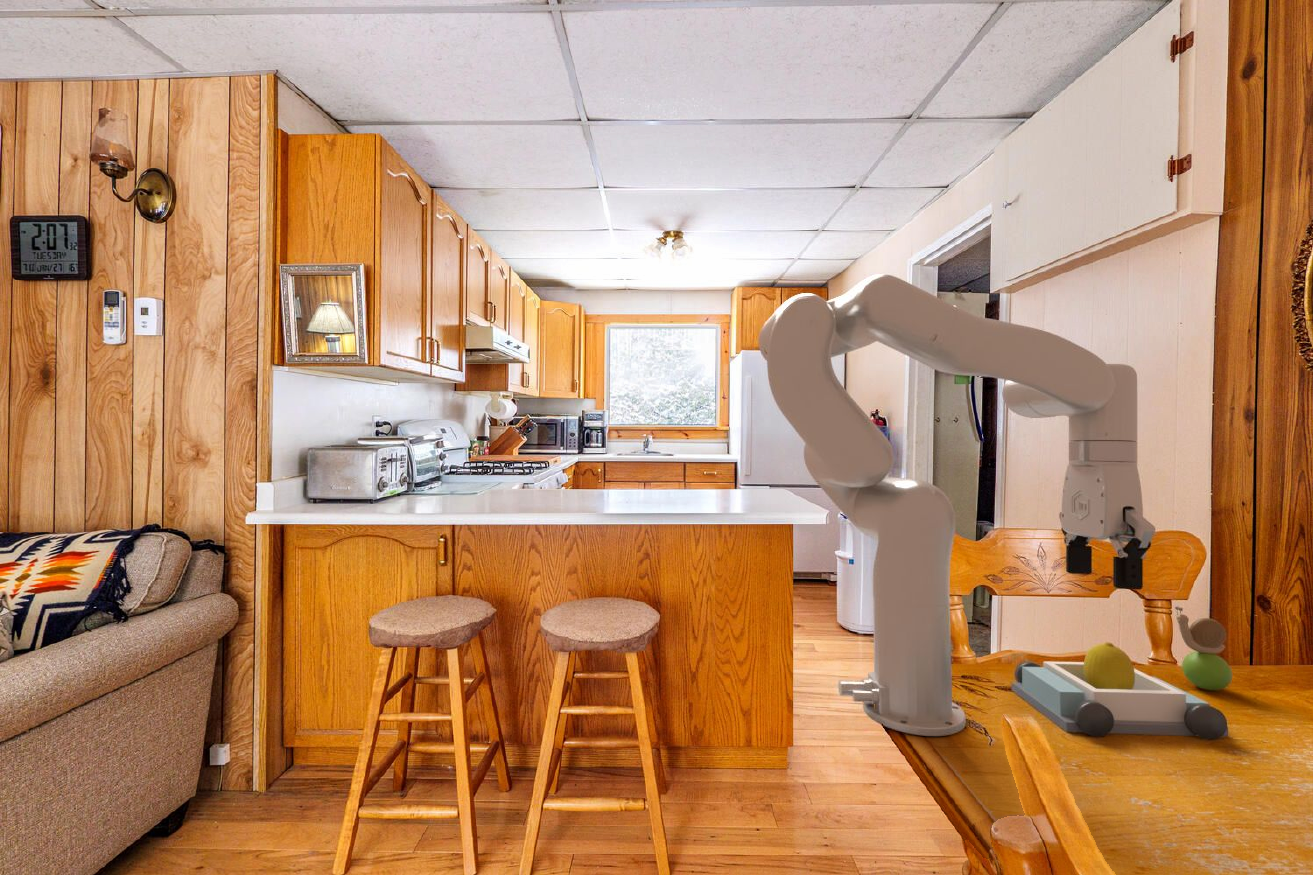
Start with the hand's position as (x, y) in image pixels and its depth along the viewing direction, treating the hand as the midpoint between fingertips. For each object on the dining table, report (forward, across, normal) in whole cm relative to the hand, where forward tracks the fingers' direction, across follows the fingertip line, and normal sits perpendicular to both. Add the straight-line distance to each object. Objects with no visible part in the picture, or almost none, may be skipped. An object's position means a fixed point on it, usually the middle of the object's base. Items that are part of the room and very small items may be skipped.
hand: (1101, 580), depth 80 cm
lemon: (+17, 0, +1) cm, 17 cm away
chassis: (+18, 0, +1) cm, 18 cm away
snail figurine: (+17, -9, +20) cm, 28 cm away
